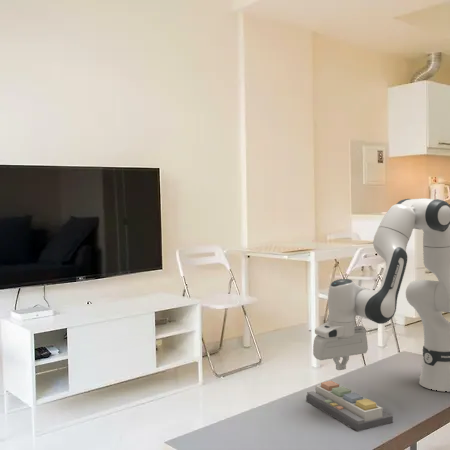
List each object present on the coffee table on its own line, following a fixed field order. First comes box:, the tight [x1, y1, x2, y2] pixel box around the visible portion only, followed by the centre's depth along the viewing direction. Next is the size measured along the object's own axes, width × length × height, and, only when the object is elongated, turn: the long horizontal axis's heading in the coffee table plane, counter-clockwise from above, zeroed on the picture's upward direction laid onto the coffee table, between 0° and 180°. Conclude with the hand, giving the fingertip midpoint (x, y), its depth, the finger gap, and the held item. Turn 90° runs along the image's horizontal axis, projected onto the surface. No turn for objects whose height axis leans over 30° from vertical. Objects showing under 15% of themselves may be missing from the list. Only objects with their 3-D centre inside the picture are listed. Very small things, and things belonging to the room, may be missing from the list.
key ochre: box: [356, 398, 377, 411], centre depth 170 cm, size 4×4×2 cm
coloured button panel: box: [305, 384, 394, 432], centre depth 178 cm, size 14×27×5 cm, turn 26°
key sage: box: [332, 385, 352, 397], centre depth 181 cm, size 4×4×2 cm
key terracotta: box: [320, 380, 340, 391], centre depth 186 cm, size 4×4×2 cm
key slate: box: [344, 391, 364, 404], centre depth 175 cm, size 4×4×2 cm
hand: (340, 369), depth 180 cm, fingers closed
